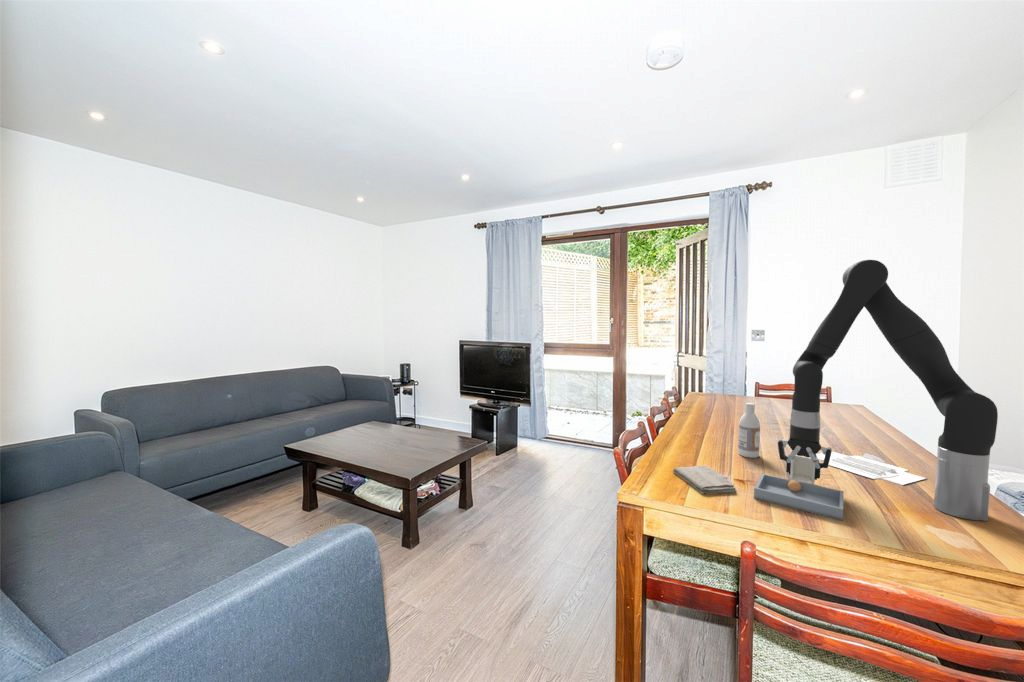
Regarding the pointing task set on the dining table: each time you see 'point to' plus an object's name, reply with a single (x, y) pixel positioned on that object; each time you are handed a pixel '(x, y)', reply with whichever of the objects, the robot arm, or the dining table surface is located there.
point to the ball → (794, 485)
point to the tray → (800, 496)
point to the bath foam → (749, 433)
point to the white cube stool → (802, 470)
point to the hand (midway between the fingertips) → (802, 476)
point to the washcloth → (705, 479)
